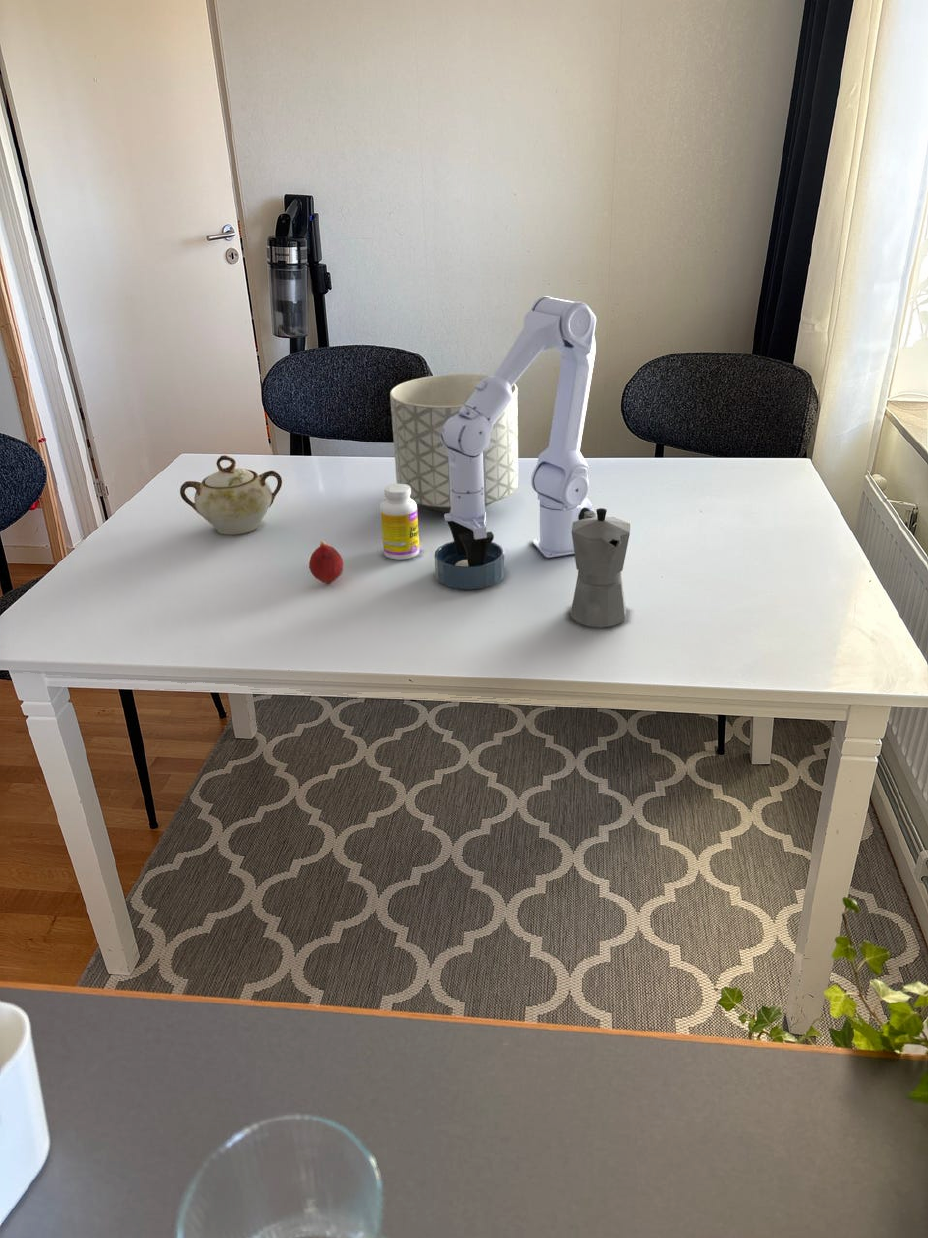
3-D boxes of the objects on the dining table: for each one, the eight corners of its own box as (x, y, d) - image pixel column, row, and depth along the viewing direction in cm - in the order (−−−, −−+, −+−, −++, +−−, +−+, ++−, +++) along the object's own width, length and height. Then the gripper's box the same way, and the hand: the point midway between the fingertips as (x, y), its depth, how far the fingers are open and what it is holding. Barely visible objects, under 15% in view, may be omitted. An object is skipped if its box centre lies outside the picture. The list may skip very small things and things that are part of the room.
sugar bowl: (185, 547, 181) (171, 472, 174) (189, 519, 194) (176, 448, 187) (289, 535, 185) (279, 461, 178) (285, 508, 198) (276, 439, 191)
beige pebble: (450, 573, 165) (450, 560, 164) (473, 565, 168) (473, 552, 166) (465, 581, 162) (464, 568, 161) (488, 573, 164) (488, 560, 163)
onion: (350, 578, 166) (346, 536, 162) (336, 592, 161) (331, 549, 157) (321, 575, 168) (316, 533, 164) (305, 588, 163) (300, 546, 159)
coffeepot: (641, 629, 145) (648, 520, 137) (583, 638, 144) (586, 528, 135) (606, 587, 159) (610, 486, 150) (552, 595, 157) (553, 492, 149)
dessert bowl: (492, 558, 171) (491, 535, 169) (514, 585, 161) (513, 561, 159) (428, 568, 169) (427, 545, 166) (446, 596, 158) (445, 571, 156)
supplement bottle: (414, 562, 171) (410, 495, 165) (379, 560, 172) (374, 493, 166) (423, 547, 177) (419, 482, 171) (389, 545, 178) (384, 480, 172)
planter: (543, 503, 195) (543, 387, 184) (450, 536, 181) (444, 414, 170) (465, 475, 212) (461, 367, 201) (374, 503, 198) (364, 390, 187)
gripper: (432, 477, 163) (436, 549, 169) (455, 505, 150) (459, 582, 156) (471, 472, 164) (474, 544, 170) (498, 499, 152) (499, 576, 158)
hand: (469, 562), depth 164 cm, fingers open, 7 cm apart
